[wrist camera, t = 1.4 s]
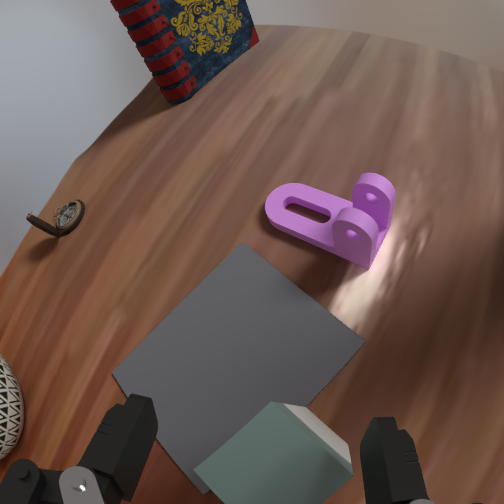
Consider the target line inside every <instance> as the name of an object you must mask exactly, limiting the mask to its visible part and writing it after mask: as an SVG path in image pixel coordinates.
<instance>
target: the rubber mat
mask: <svg viewBox="0 0 504 504" xmlns="http://www.w3.org/2000/svg"><path fill="white" fill-rule="evenodd" d="M364 343H365V341H364V340H363V339H362V338H361V337H359V336H358V335H357V334H356V333H354V332H353V331H352V330H351V329H350V328H348V327H347V326H346V325H345V324H343V323H342V322H341V321H340V320H338V319H337V318H336V317H335V316H333V315H332V314H331V313H330V312H329V311H327V310H326V309H325V308H324V307H322V306H321V305H320V304H319V303H317V302H316V301H315V300H314V299H312V298H311V297H310V296H309V295H308V294H306V293H305V292H304V291H303V290H301V289H300V288H299V287H298V286H296V285H295V284H294V283H293V282H291V281H290V280H289V279H288V278H286V277H285V276H284V275H283V274H282V273H280V272H279V271H278V270H277V269H275V268H274V267H273V266H272V265H270V264H269V263H268V262H267V261H265V260H264V259H263V258H262V257H260V256H259V255H258V254H257V253H256V252H254V251H253V250H252V249H251V248H249V247H248V246H247V245H246V244H244V243H243V242H241V243H240V244H239V245H238V246H237V247H236V248H235V249H234V250H233V251H232V252H231V253H230V254H229V255H228V256H227V257H226V258H225V259H224V260H223V261H222V262H221V263H220V264H219V265H218V266H217V267H216V268H215V269H214V270H213V271H212V272H211V273H210V274H209V275H208V276H207V277H206V278H205V279H204V280H203V281H202V282H201V283H200V284H199V285H198V286H197V287H196V288H195V289H194V290H193V291H192V292H191V293H190V294H189V295H188V296H187V297H186V298H185V299H184V300H183V301H182V302H181V303H180V304H179V305H178V306H177V307H176V308H175V309H174V310H173V311H172V312H171V313H170V314H169V315H168V316H167V317H166V318H165V319H164V320H163V321H162V322H161V323H160V324H159V325H158V326H157V327H156V328H155V329H154V330H153V331H152V332H151V333H150V334H149V335H148V336H147V337H146V338H145V339H144V340H143V341H142V342H141V343H140V344H139V345H138V346H137V347H136V348H135V349H134V350H133V351H132V352H131V353H130V354H129V355H128V356H127V357H126V358H125V359H124V360H123V361H122V362H121V363H120V364H119V365H118V367H117V368H116V369H115V370H114V371H113V372H112V374H113V375H114V377H115V378H116V380H117V382H118V383H119V385H120V386H121V388H122V390H123V391H124V393H125V394H126V396H127V397H129V395H130V394H137V395H141V396H146V397H150V398H152V401H153V405H154V409H155V412H156V416H157V420H158V432H157V435H156V438H157V440H158V441H159V442H160V444H161V445H162V446H163V448H164V449H165V450H166V451H167V453H168V454H169V455H170V456H171V458H172V459H173V460H174V461H175V463H176V464H177V465H178V466H179V467H180V469H181V470H182V471H183V472H184V473H185V475H186V476H187V477H188V478H189V479H190V480H191V482H192V483H193V484H194V485H195V486H196V487H197V488H198V489H199V490H200V492H201V493H202V494H203V495H204V494H205V493H207V492H208V491H210V490H211V489H210V488H209V487H208V486H207V485H206V483H205V482H204V481H203V480H202V479H201V478H200V477H199V476H198V475H197V473H196V472H195V471H194V470H193V469H195V468H196V467H197V466H198V465H200V464H201V463H202V462H203V461H204V460H206V459H207V458H208V457H209V456H211V455H212V454H213V453H214V452H215V451H217V450H218V449H219V448H220V447H221V446H222V445H224V444H225V443H226V442H227V441H228V440H229V439H230V438H232V437H233V436H234V435H235V434H236V433H237V432H238V431H240V430H241V429H242V428H243V427H244V426H245V425H246V424H247V423H248V422H249V421H251V420H252V419H253V418H254V417H255V416H256V415H257V414H258V413H259V412H260V411H261V410H262V409H263V408H264V407H266V406H267V405H268V404H269V403H270V402H271V401H272V402H278V403H283V404H289V405H296V406H302V407H306V406H307V405H308V404H309V403H310V402H311V401H312V400H313V399H314V398H315V397H316V396H317V395H318V394H319V393H320V392H321V391H322V390H323V389H324V388H325V387H326V386H327V385H328V383H329V382H330V381H331V380H332V379H333V378H334V377H335V376H336V375H337V374H338V373H339V372H340V370H341V369H342V368H343V367H344V366H345V365H346V364H347V363H348V362H349V360H350V359H351V358H352V357H353V356H354V355H355V354H356V352H357V351H358V350H359V349H360V348H361V347H362V345H363V344H364Z"/></svg>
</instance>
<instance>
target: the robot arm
mask: <svg viewBox="0 0 504 504" xmlns="http://www.w3.org/2000/svg"><path fill="white" fill-rule="evenodd" d="M157 432H158V420H157V416H156V412H155V409H154V405H153V401H152V398H150V397H146V396H141V395H137V394H130V395H129V397H128V399H127V400H126V402H125V404H124V405H121V404H116V405H115V406H113V407H112V408H111V409H110V410H108V411H107V413H106V414H105V416H104V418H103V420H102V422H101V424H100V425H99V427H98V429H97V432H95V434H94V436H93V438H92V440H91V442H90V443H89V445H88V447H87V449H86V451H85V453H84V455H83V456H82V458H81V460H80V462H79V463H78V464H77V465H76V466H74V467H70V468H68V469H66V470H65V471H53V470H46V469H39V468H38V467H37V465H36V464H35V463H34V462H32V461H31V460H28V459H19V460H16V461H15V462H13V463H12V464H11V465H10V467H9V469H8V471H7V472H6V474H5V476H4V478H3V480H2V482H1V484H0V504H120V502H121V500H124V501H127V502H131V500H132V497H133V495H134V492H135V490H136V487H137V484H138V482H139V479H140V477H141V474H142V471H143V469H144V466H145V464H146V461H147V458H148V456H149V453H150V451H151V448H152V446H153V443H154V441H155V438H156V435H157ZM360 458H361V466H362V474H363V482H364V490H365V499H366V504H435V503H434V502H432V501H430V499H429V498H428V496H427V492H426V488H425V484H424V479H423V475H422V471H421V467H420V464H419V462H418V456H417V453H416V449H415V445H414V441H413V439H412V438H411V436H410V435H409V434H408V433H407V431H406V430H405V429H404V430H398V429H397V425H396V421H395V419H394V417H376V418H373V419H372V420H371V422H370V424H369V426H368V428H367V431H366V433H365V435H364V437H363V439H362V441H361V445H360ZM473 504H482V503H473Z"/></svg>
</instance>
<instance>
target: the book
mask: <svg viewBox="0 0 504 504" xmlns="http://www.w3.org/2000/svg"><path fill="white" fill-rule="evenodd" d="M110 2H111V3H112V5H113V7H114V9H115V10H116V11H118V13H119V18H120V19H121V21H122V22H123V24H124V26H125V27H127V29H128V34H129V35H130V37H131V39H132V40H133V42H135V43H136V48H137V49H138V51H139V52H140V54H141V56H142V57H144V62H145V63H146V65H147V67H148V68H149V70H150V71H151V72H152V76H153V78H154V79H155V81H156V83H157V84H158V86H160V90H161V92H162V93H163V95H164V97H165V98H166V100H168V102H169V103H170V104H179V103H182V102H185V101H187V100H189V99H191V98H192V97H193V95H194V94H195V93H196V92H197V91H198V90H200V89H201V88H202V87H203V86H204V85H205V84H206V83H208V82H209V81H210V80H211V79H212V78H213V77H215V76H216V75H217V74H218V73H219V72H221V71H222V70H223V69H224V68H225V67H227V66H228V65H229V64H230V63H232V62H233V61H234V60H235V59H237V58H238V57H239V56H240V55H242V54H243V53H244V52H245V51H247V50H248V49H250V48H251V47H252V46H254V45H255V44H256V43H257V42H259V38H258V35H257V32H256V29H255V27H254V24H253V21H252V18H251V15H250V12H249V9H248V6H247V3H246V0H111V1H110Z"/></svg>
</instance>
